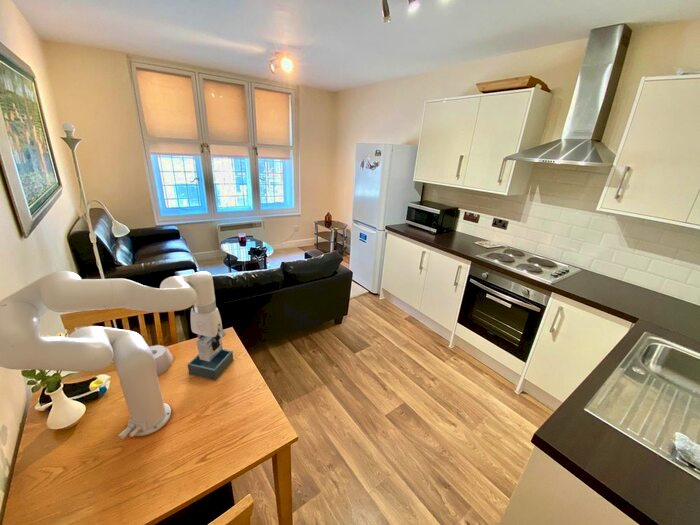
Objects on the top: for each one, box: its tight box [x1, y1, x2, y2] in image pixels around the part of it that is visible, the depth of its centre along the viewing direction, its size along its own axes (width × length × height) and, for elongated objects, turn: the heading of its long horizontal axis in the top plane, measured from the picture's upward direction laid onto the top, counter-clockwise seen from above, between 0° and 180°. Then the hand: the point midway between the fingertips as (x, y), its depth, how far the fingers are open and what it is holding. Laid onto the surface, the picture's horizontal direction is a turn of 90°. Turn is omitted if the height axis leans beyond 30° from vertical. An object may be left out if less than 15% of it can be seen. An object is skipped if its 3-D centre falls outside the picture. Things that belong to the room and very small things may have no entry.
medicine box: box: [196, 336, 224, 362], centre depth 109 cm, size 8×4×9 cm, turn 166°
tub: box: [187, 348, 234, 381], centre depth 124 cm, size 13×13×5 cm
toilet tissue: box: [149, 344, 174, 377], centre depth 122 cm, size 9×13×9 cm
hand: (210, 346), depth 109 cm, fingers closed on medicine box, 4 cm apart
